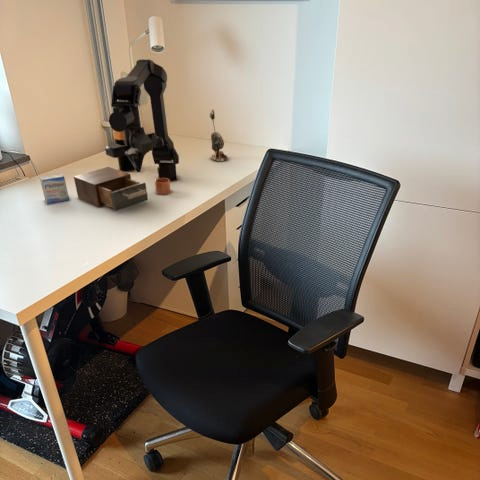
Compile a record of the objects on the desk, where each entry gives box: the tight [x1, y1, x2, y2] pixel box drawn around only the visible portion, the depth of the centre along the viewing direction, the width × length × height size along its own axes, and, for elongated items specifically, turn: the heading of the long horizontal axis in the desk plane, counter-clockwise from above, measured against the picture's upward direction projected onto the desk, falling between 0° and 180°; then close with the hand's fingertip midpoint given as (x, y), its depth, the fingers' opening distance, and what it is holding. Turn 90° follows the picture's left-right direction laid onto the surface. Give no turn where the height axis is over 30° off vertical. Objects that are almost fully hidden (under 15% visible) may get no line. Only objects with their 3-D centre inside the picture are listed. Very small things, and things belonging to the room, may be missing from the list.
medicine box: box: [39, 173, 70, 205], centre depth 179 cm, size 8×4×9 cm, turn 117°
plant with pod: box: [209, 108, 229, 162], centre depth 212 cm, size 8×11×20 cm
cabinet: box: [73, 166, 132, 208], centre depth 180 cm, size 14×15×8 cm
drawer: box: [97, 178, 149, 212], centre depth 173 cm, size 17×13×6 cm
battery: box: [112, 129, 136, 172], centre depth 204 cm, size 7×7×20 cm
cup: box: [154, 177, 172, 196], centre depth 184 cm, size 5×5×4 cm
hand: (138, 172), depth 169 cm, fingers closed
